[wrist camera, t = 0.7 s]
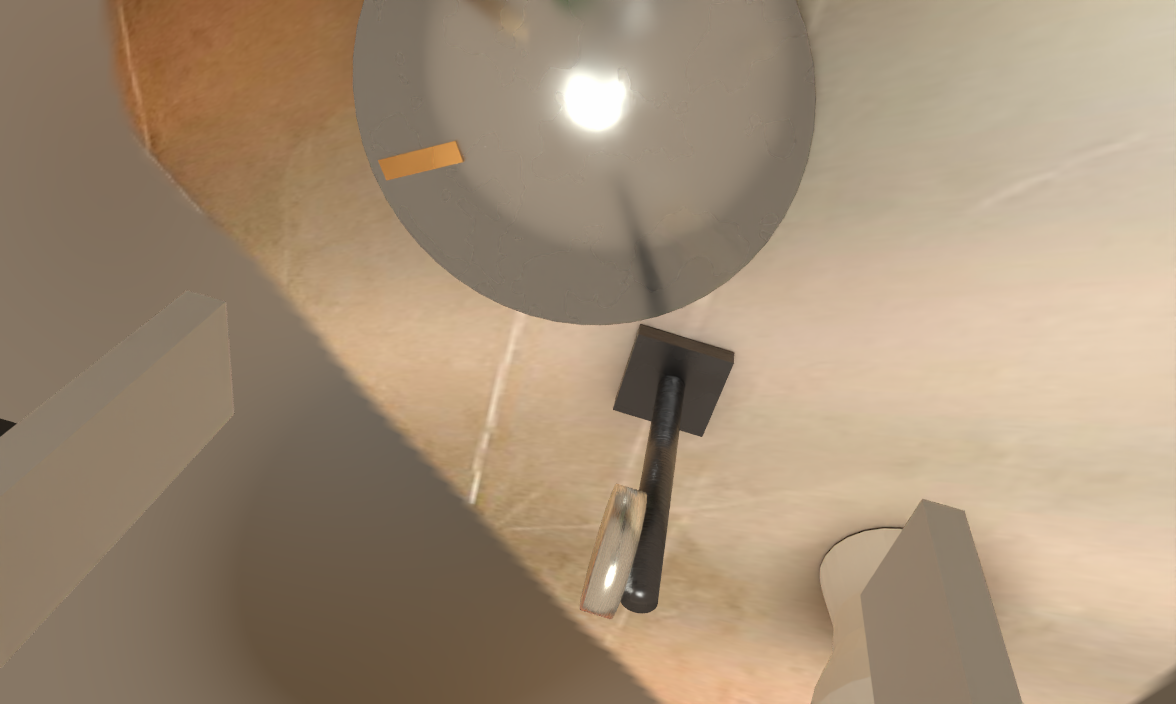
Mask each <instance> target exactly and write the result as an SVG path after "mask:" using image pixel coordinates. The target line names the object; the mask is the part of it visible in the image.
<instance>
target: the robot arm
mask: <svg viewBox="0 0 1176 704" xmlns="http://www.w3.org/2000/svg"><path fill="white" fill-rule="evenodd" d="M233 402H234V401H233V388H232V374H231V360H230V348H229V334H228V319H227V307H226V301H223V300H220V299H216V298H213V297H209V296H206V295H202V294H199V293H195V292H192V291H188V290H186V291H185V292H184V293H183V294H181V295H180V296H179V297H178V298H176V299H175V300H174V301H172V302H171V303H170V304H169V305H167V306H166V307H165V308H164V309H162V310H161V311H160V312H158V313H157V314H156V315H155V316H153V317H152V318H151V319H150V320H148V321H147V322H146V323H145V324H143V325H142V326H141V327H139V328H138V329H137V330H136V331H134V332H133V333H132V334H131V335H129V336H128V337H127V338H126V339H124V340H123V341H122V342H120V343H119V344H118V345H117V346H115V347H114V348H113V349H111V350H110V351H109V352H108V353H106V354H105V355H104V356H103V357H101V358H100V359H99V360H97V361H96V362H95V363H94V364H92V365H91V366H90V367H89V368H87V369H86V370H85V371H84V372H82V373H81V374H80V375H78V376H77V377H76V378H75V379H73V380H72V381H71V382H69V383H68V384H67V385H66V386H64V387H63V388H62V389H61V390H59V391H58V392H57V393H55V394H54V395H53V396H52V397H50V398H49V399H48V400H47V401H46V402H44V403H43V404H41V405H40V406H39V407H38V408H36V409H35V410H34V411H33V412H31V413H30V414H29V415H28V416H26V417H25V418H24V419H22V420H21V421H20V422H19V423H14V422H10V421H6V420H3V419H0V669H1V668H2V667H3V666H4V664H5V663H7V661H8V660H9V659H10V658H11V657H12V656H13V655H14V654H15V653H16V652H17V651H18V649H19V648H20V647H21V646H22V645H23V644H24V643H25V642H26V641H27V640H28V638H29V637H30V636H31V635H32V634H33V633H34V632H35V631H36V630H37V628H39V627H40V625H41V624H42V623H43V622H44V621H45V620H46V619H47V618H48V617H49V615H50V614H51V613H52V612H53V611H54V610H55V609H56V608H57V607H58V605H60V604H61V602H62V601H63V600H64V599H65V598H66V597H67V596H68V595H69V594H70V593H71V592H72V590H73V589H74V588H75V587H76V586H77V585H78V584H79V583H80V582H81V580H83V578H84V577H85V576H86V575H87V574H88V573H89V572H90V571H91V570H92V569H93V568H94V566H95V565H96V564H97V563H98V562H99V561H100V560H101V559H102V558H103V556H105V554H106V553H107V552H108V551H109V550H110V549H111V548H112V547H113V546H114V545H115V543H116V542H117V541H118V540H119V539H120V538H121V537H122V536H123V535H124V534H125V533H126V531H127V530H128V529H129V528H130V527H131V526H132V525H133V524H134V523H135V522H136V521H137V519H138V518H139V517H140V516H141V515H142V514H143V513H144V512H145V511H146V510H147V509H148V507H149V506H150V505H151V504H152V503H153V502H154V501H155V500H156V499H157V498H158V497H159V496H160V494H161V493H162V492H163V491H164V490H165V489H166V488H167V487H168V485H170V483H171V482H172V481H173V480H174V479H175V478H176V477H177V476H178V475H179V474H180V473H181V471H182V470H183V469H184V468H185V467H186V466H187V465H188V464H189V463H190V462H191V460H192V459H193V458H194V457H195V456H196V455H197V454H198V453H199V452H200V451H201V450H202V448H203V447H204V446H205V445H206V444H207V443H208V442H209V441H210V440H211V439H212V438H213V437H214V435H215V434H216V433H217V432H218V431H219V430H220V429H221V428H222V427H223V426H224V425H225V423H226V422H227V421H228V420H229V419H230V418H231V417H232V416H233V415H234V403H233ZM860 597H861V605H862V612H863V620H864V628H865V635H866V643H867V651H868V658H869V666H870V674H871V681H872V689H873V697H874V704H1023V703H1022V700H1021V696H1020V693H1019V690H1018V687H1017V683H1016V680H1015V677H1014V673H1013V670H1012V667H1011V663H1010V660H1009V657H1008V653H1007V650H1006V647H1005V644H1004V640H1003V637H1002V634H1001V630H1000V627H999V624H998V620H997V617H996V614H995V610H994V607H993V604H992V601H991V597H990V594H989V591H988V587H987V584H986V581H985V577H984V574H983V571H982V567H981V564H980V561H979V558H978V554H977V551H976V548H975V544H974V541H973V538H972V534H971V531H970V528H969V524H968V521H967V518H966V514H965V511H963V510H960V509H956V508H953V507H949V506H946V505H942V504H939V503H935V502H931V501H928V500H924V499H922V500H921V502H920V503H919V505H918V506H917V508H916V509H915V511H914V513H913V514H912V516H911V517H910V519H909V520H908V522H907V523H906V525H905V526H904V528H903V529H902V531H901V533H900V534H899V536H898V537H897V539H896V540H895V542H894V543H893V545H892V546H891V548H890V549H889V551H888V553H887V554H886V556H885V557H884V559H883V560H882V562H881V563H880V565H879V566H878V568H877V570H876V571H875V573H874V574H873V576H872V577H871V579H870V580H869V582H868V583H867V585H866V586H865V588H864V590H863V591H862V593H861V594H860Z"/></svg>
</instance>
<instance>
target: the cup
mask: <svg viewBox="0 0 1176 704" xmlns="http://www.w3.org/2000/svg"><path fill="white" fill-rule="evenodd" d="M901 531H902V529H886V528H882V529H876V530H869V531H864V532H861V533H858V534H855V535H853V536H850V537H847V538H846V539H844V540H843V541H841V542H840V543H838V544H836V545H835V546H834V547H833V548H832V549H831V550H830V551H829V552H828V553H827V555H826V556H825V557H824V560H823V562H822V564H821V567H820V584H821V588H822V592H823V596H824V599H825V602H826V606H827V609H828V612H829V615H830V618H831V621H832V624H833V627H834V630H833V648H832V656H831V658H830V659H829V661H828V663H827V665H826V667H825V668H824V670H823V672H822V674H821V676H820V678H819V680H818V682H817V684H816V686H815V689H814V693H813V697H812V701H811V704H874V697H873V689H872V681H871V674H870V666H869V658H868V651H867V643H866V635H865V628H864V620H863V612H862V605H861V597H860V594H861V593H862V591H863V590H864V588H865V586H866V585H867V583H868V582H869V580H870V579H871V577H872V576H873V574H874V573H875V571H876V570H877V568H878V566H879V565H880V563H881V562H882V560H883V559H884V557H885V556H886V554H887V553H888V551H889V549H890V548H891V546H892V545H893V543H894V542H895V540H896V539H897V537H898V536H899V534H900V533H901ZM1022 703H1023V702H1022ZM1023 704H1024V703H1023Z"/></svg>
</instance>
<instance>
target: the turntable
mask: <svg viewBox="0 0 1176 704" xmlns="http://www.w3.org/2000/svg"><path fill="white" fill-rule="evenodd" d="M353 92H354V100H355V109H356V117H357V121H358V126H359V130H360V134H361V138H362V143H363V146H364V149H365V152H366V155H367V157H368V160H369V163H370V166H371V168H372V171H373V174H374V176H375V178H376V180H377V182H378V184H379V186H380V188H381V190H382V192H383V194H384V196H385V198H386V200H387V201H388V203H389V204H390V206H391V207H392V209H393V211H394V212H395V214H396V215H397V217H398V218H399V220H400V222H401V223H402V224H403V225H404V227H405V228H406V229H407V230H408V232H409V233H410V234H411V235H412V237H413V238H414V239H415V240H416V242H417V243H418V244H419V245H420V246H421V247H422V248H423V249H424V250H425V251H426V252H427V253H428V254H429V255H430V256H431V257H432V258H433V259H434V260H435V261H436V262H437V263H438V264H439V265H441V266H442V267H443V268H444V269H446V270H447V271H448V272H449V273H451V274H452V275H453V276H454V277H456V278H457V279H458V280H459V281H461V282H463V283H464V284H466V285H467V286H469V287H470V288H472V289H473V290H475V291H477V292H478V293H480V294H481V295H483V296H485V297H487V298H489V299H491V300H493V301H495V302H497V303H499V304H501V305H503V306H506V307H508V308H511V309H514V310H517V311H519V312H522V313H525V314H528V315H531V316H535V317H539V318H543V319H547V320H551V321H556V322H564V323H571V324H579V325H611V324H620V323H630V322H635V321H640V320H644V319H649V318H653V317H657V316H660V315H663V314H666V313H669V312H671V311H674V310H677V309H680V308H682V307H684V306H686V305H688V304H690V303H692V302H694V301H696V300H698V299H700V298H702V297H704V296H706V295H708V294H709V293H711V292H712V291H714V290H715V289H717V288H718V287H720V286H721V285H723V284H724V283H726V282H727V281H728V280H730V279H731V278H732V277H733V276H734V275H735V274H736V273H738V272H739V271H740V270H741V269H742V268H743V267H744V266H746V265H747V264H748V263H749V262H750V261H751V260H752V259H753V257H754V256H755V255H756V254H757V253H758V252H759V251H760V250H761V248H762V247H763V246H764V245H765V244H766V243H767V242H768V240H769V239H770V237H771V236H772V234H773V233H774V231H775V230H776V228H777V227H778V225H779V224H780V223H781V221H782V220H783V218H784V216H785V214H786V212H787V210H788V208H789V206H790V204H791V202H792V200H793V198H794V196H795V194H796V192H797V190H798V187H799V185H800V182H801V179H802V176H803V173H804V170H805V167H806V164H807V161H808V156H809V151H810V146H811V141H812V136H813V131H814V118H815V103H816V93H815V78H814V64H813V59H812V54H811V50H810V45H809V40H808V35H807V30H806V27H805V24H804V21H803V19H802V16H801V13H800V10H799V7H798V4H797V2H796V0H364V3H363V6H362V10H361V14H360V18H359V21H358V25H357V31H356V39H355V46H354V54H353Z"/></svg>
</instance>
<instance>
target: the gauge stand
mask: <svg viewBox="0 0 1176 704" xmlns="http://www.w3.org/2000/svg"><path fill="white" fill-rule="evenodd" d="M733 364H734V353H733V352H730V351H727V350H724V349H720V348H717V347H714V346H710V345H707V344H704V343H701V342H697V341H694V340H691V339H687V338H684V337H681V336H678V335H674V334H671V333H668V332H665V331H661V330H658V329H655V328H651V327H648V326H645V325H642V324H640V327H639V330H638V333H637V336H636V339H635V342H634V345H633V348H632V351H631V354H630V357H629V360H628V363H627V366H626V369H625V372H624V375H623V378H622V381H621V384H620V387H619V390H618V393H617V396H616V399H615V403H614V407H613V410H616V411H619V412H622V413H626V414H629V415H632V416H635V417H639V418H642V419H645V420H648V421H651V426H650V432H649V437H648V443H647V449H646V454H645V460H644V465H643V471H642V477H641V482H640V488H639V490H636V489H633V488H629V487H626V486H623V485H620V484H616V485H615V486H614V488H613V491H612V493H611V496H610V498H609V501H608V504H607V507H606V509H605V512H604V515H603V519H602V522H601V525H600V528H599V531H598V535H597V538H596V541H595V545H594V548H593V552H592V555H591V559H590V563H589V566H588V570H587V574H586V578H585V582H584V586H583V591H582V596H581V601H580V610H582V611H585V612H588V613H591V614H595V615H598V616H601V617H604V618H607V619H612V618H613V616H614V615H615V613H616V611H617V608H618V606H619V604H620V601H621V603H622V605H623V606H624V607H625V608H627V609H628V610H630V611H632V612H636V613H648V612H651V611H653V610H654V609H655V608H656V607H657V604H658V596H659V588H660V581H661V573H662V565H663V557H664V549H665V541H666V533H667V525H668V517H669V509H670V501H671V493H672V485H673V478H674V470H675V462H676V454H677V446H678V438H679V430H681V431H684V432H687V433H691V434H694V435H697V436H700V437H702V436H703V434H704V431H705V429H706V427H707V424H708V422H709V420H710V417H711V415H712V413H713V410H714V408H715V406H716V403H717V401H718V399H719V396H720V394H721V392H722V389H723V387H724V385H725V382H726V380H727V378H728V375H729V373H730V371H731V368H732V366H733Z"/></svg>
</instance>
